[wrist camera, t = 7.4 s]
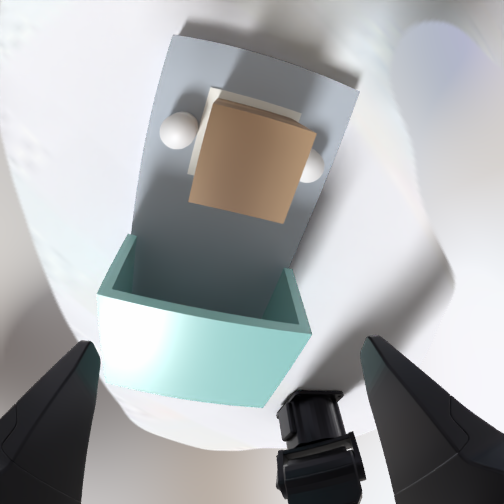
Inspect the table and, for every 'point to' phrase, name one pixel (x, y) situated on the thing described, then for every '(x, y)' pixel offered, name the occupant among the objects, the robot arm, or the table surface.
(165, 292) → the grey flat rectangular block
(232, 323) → the block
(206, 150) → the block
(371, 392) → the robot arm
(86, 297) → the table surface
